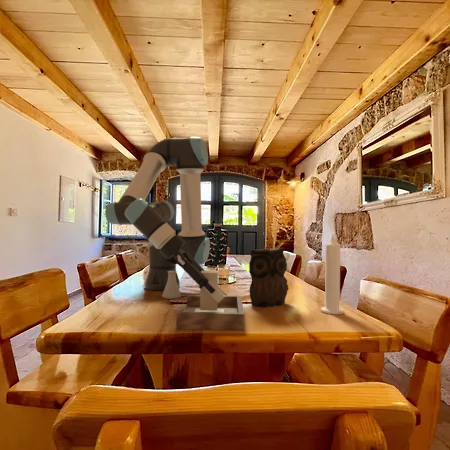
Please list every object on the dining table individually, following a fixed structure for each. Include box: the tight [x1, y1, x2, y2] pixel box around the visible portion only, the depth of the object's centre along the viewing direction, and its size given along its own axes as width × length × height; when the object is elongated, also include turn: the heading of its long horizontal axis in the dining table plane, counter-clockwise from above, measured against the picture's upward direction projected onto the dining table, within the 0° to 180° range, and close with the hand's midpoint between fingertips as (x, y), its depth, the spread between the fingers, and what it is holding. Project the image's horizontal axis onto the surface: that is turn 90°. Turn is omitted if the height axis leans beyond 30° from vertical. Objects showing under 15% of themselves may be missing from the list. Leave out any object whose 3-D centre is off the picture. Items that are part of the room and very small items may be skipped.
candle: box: [320, 234, 345, 315], centre depth 102 cm, size 7×7×25 cm
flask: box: [161, 270, 183, 300], centre depth 120 cm, size 7×7×10 cm
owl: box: [248, 247, 289, 308], centre depth 111 cm, size 13×13×20 cm
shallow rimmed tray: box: [175, 294, 245, 331], centre depth 94 cm, size 18×22×4 cm
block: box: [199, 270, 219, 310], centre depth 94 cm, size 5×4×11 cm
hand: (221, 297), depth 94 cm, fingers closed on block, 4 cm apart
